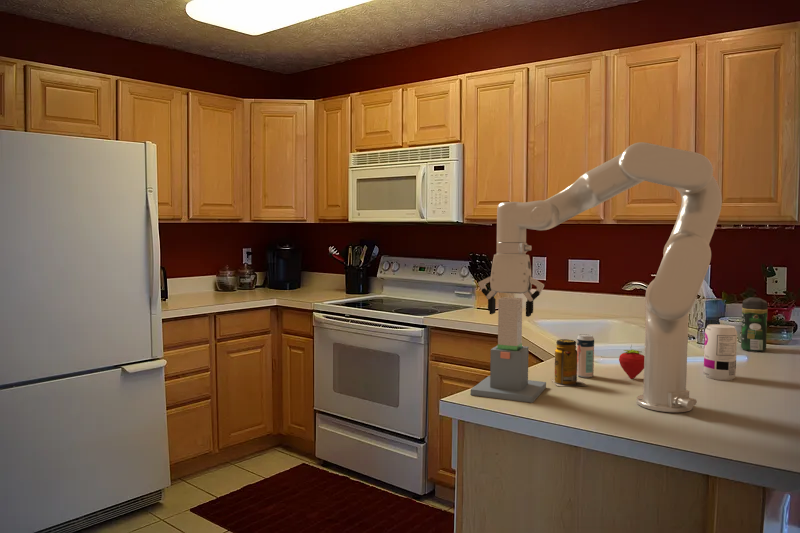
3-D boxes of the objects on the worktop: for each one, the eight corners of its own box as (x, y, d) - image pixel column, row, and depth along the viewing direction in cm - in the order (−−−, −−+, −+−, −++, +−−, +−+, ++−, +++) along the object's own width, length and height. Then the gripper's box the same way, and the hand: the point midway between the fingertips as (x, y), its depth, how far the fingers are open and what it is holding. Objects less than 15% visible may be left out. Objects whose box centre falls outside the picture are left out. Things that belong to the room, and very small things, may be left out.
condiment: (550, 380, 174) (551, 338, 173) (580, 380, 174) (581, 338, 173) (556, 386, 167) (557, 343, 166) (588, 386, 167) (588, 343, 166)
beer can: (580, 373, 182) (581, 333, 181) (595, 376, 179) (596, 335, 178) (573, 376, 178) (574, 335, 177) (589, 379, 175) (590, 337, 174)
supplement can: (699, 377, 177) (701, 326, 176) (708, 372, 183) (710, 322, 182) (730, 382, 172) (732, 329, 171) (738, 377, 178) (740, 325, 177)
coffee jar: (740, 346, 224) (742, 295, 223) (765, 348, 220) (767, 297, 219) (740, 351, 216) (742, 298, 214) (766, 353, 212) (768, 299, 211)
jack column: (521, 361, 163) (522, 298, 162) (516, 365, 158) (517, 300, 157) (502, 360, 165) (503, 297, 164) (497, 363, 160) (498, 299, 159)
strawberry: (644, 382, 171) (645, 347, 170) (616, 379, 175) (617, 344, 174) (648, 378, 176) (649, 343, 175) (620, 375, 180) (621, 341, 179)
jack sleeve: (546, 387, 166) (546, 345, 165) (532, 402, 151) (533, 356, 150) (488, 381, 172) (489, 340, 172) (470, 395, 158) (470, 350, 157)
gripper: (547, 249, 159) (546, 315, 160) (483, 248, 167) (482, 311, 168) (541, 250, 152) (540, 319, 153) (474, 249, 160) (474, 314, 161)
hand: (510, 314), depth 161 cm, fingers open, 9 cm apart
